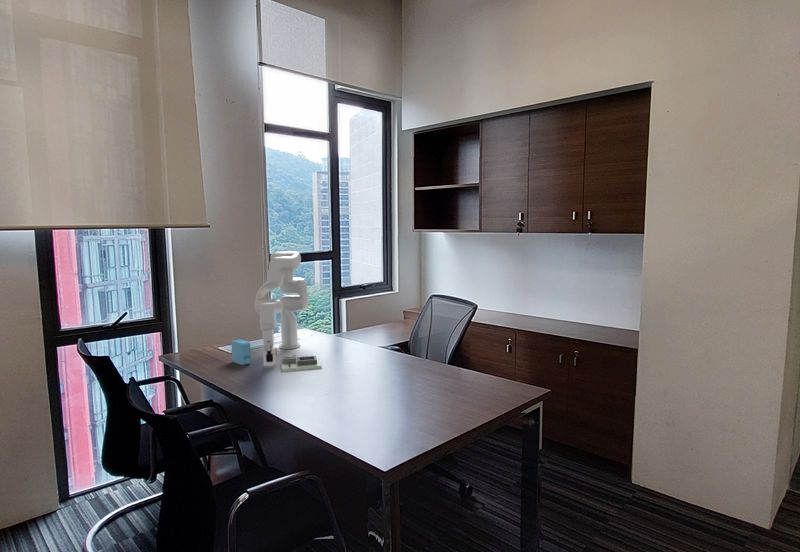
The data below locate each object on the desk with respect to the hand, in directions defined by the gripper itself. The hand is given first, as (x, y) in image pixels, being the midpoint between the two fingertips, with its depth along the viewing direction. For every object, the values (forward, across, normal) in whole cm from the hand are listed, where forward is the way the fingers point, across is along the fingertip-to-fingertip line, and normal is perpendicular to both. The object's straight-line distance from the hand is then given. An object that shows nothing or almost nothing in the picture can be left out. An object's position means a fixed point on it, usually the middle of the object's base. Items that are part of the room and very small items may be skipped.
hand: (269, 360), depth 249 cm
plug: (+2, 0, 0) cm, 2 cm away
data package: (+4, -13, -15) cm, 21 cm away
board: (+4, +2, +16) cm, 16 cm away
